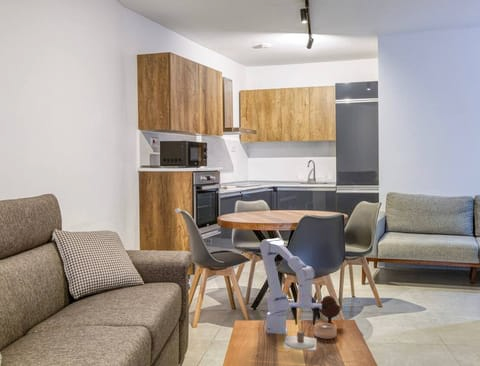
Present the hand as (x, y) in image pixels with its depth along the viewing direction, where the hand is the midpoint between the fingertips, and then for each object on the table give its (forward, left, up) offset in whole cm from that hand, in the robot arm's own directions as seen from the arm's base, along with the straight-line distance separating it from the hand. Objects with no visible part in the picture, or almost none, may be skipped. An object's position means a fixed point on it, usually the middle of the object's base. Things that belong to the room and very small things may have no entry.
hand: (304, 324), depth 220 cm
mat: (-2, -2, -8) cm, 9 cm away
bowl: (+9, +9, -8) cm, 16 cm away
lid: (-2, -2, -8) cm, 8 cm away
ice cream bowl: (+11, +25, -9) cm, 29 cm away
